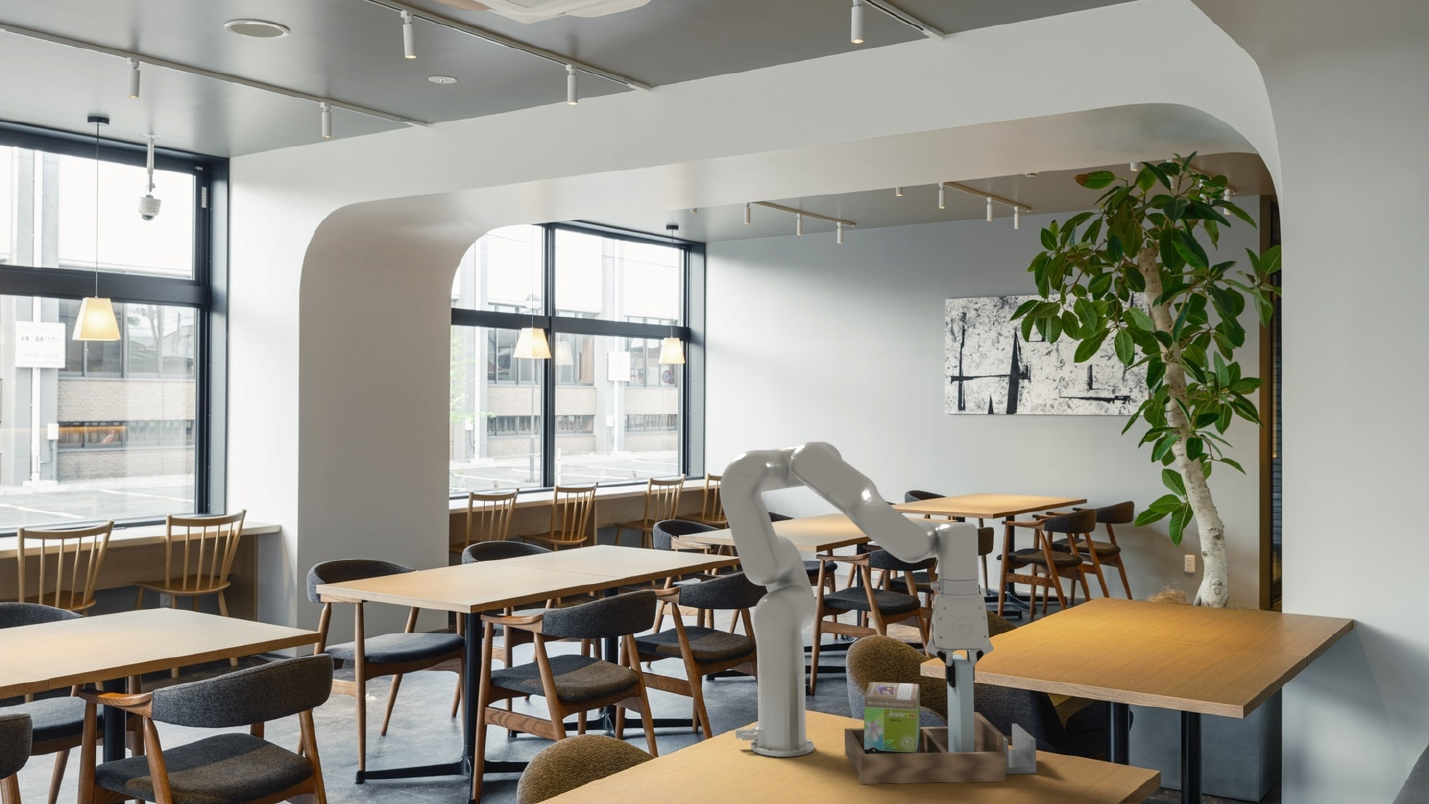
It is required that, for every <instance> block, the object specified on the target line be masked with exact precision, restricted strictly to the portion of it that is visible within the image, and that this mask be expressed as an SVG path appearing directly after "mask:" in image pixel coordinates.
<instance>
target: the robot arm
mask: <svg viewBox="0 0 1429 804" xmlns="http://www.w3.org/2000/svg"><path fill="white" fill-rule="evenodd" d="M798 487H807V488H809V489H810V490H811V491H812V492H814V493H815V494H817V495H818V496H820V497H821V498H822V499H823V500H825V501H826V502H827V503H829V504H830V505H832V506H833V507H834V508H836V509H837V510H838V511H840V512H841V513H842V514H843V515H845V516H846V517H847V518H848V519H849V520H850V522H852V524H854V525H855V526H856V527H857V528H858V529H859V531H861V532H862V533H863V534H864V535H865V536H866V537H868V538H869V539H870V540H871V541H873V542H874V543H875V544H876V545H878V546H879V547H881V548H882V549H883V550H885V552H888V553H889V554H890V555H892V556H893V557H895V558H897V559H898V560H900V561H902V562H905V563H909V564H914V563H915V564H916V563H919V562H921V561H923V560H927V559H931V558H937V578H936V579H937V580H936V581H933V582H930V589H931V590H934V591H937V592H938V594H935V595H934V600H933V607H932V616H931V629H930V630H931V632H930V634H931V636H930V638H929V640H928V641H927V642H928V643H927V644H926V646H925V651H926V652H927V653H929V654H931V655H933V656H936V657H937V658H938V659H939V660H941V661H942V662H943V664H944V665H945V669H944V670H945V675H944V677H945V682H946V683H947V682H948V684H949V686H951V687H952V688H955V666H954V664H953V655H954V651H965V652H966V660H968V661H969V662H970V663H972V664H973V683H974V682H975V681H976V676H975V675H976V672H975V671H976V669H975V666H976V665H977V664H978V662H979V661H980V660H981V659H982V658H983V657H984V656H985V655H987V654H989V653H991V652H993V651H994V650H995V649H994V647H993V644H992V642H991V640H990V635H989V634H990V633H989V623H988V613H987V607H986V601H985V597H984V595H982V594H980V590H979V589H980V583H979V582H980V579H979V577H980V576H979V533H978V532H979V530H978V528H977V526H976V525H975V524H974V523H972V522H962V521H960V522H959V521H951V522H948V521H947V522H938V521H937V522H936V521H932V520H931V521H930V520H924V519H917V520H913V521H912V520H911V519H909V518H908V517H907V516H905V515H904V514H902V513H901V512H900V511H898V510H897V509H896V508H895V507H893V506H892V505H891V504H890V503H888V502H887V501H886V500H885V499H884V498H883V497H882V495H881V494H880V492H879V491H878V488H877V486H876V484H875V483H874V482H873V481H872V479H871V478H869V477H868V476H866V475H865V474H863V473H862V472H861V471H859V470H858V469H856V468H855V467H854V466H852V465H851V464H849V463H848V462H847V461H846V460H844V459H843V458H842V454H841V453H840V451H839V450H838V449H837V448H836V446H835V445H833V444H832V443H828V442H825V441H808V442H804V443H802V444H800V445H798V446H797V445H796V446H791V447H784V448H776V449H775V448H774V449H764V450H763V449H752V450H748V451H746V452H743V453H741V454H739V455H738V456H736V457H735V458H733V459H732V460H731V461H730V462H729V463H728V465H727V466H726V468H725V469H724V471H723V473H722V476H721V479H720V483H719V499H720V502H721V506H722V509H723V513H724V515H725V517H726V521H727V524H728V526H729V529H730V533H731V537H732V539H733V543H734V546H735V549H736V550H735V551H736V552H737V556H738V559H739V562H740V565H741V567H742V568H741V569H742V571H743V573H744V576H745V577H746V579H747V580H748V581H749V582H751V583H752V584H754V585H756V586H763V587H764V586H765V589H766V590H767V593H766V594H764V595H763V596H762V597H761V598H760V599H759V600H758V602H757V604H756V605H755V608H754V612H753V629H754V634H755V635H754V636H755V643H756V659H757V664H756V665H757V667H756V668H757V669H756V671H757V705H758V706H757V709H758V710H757V722H756V723H755V726H752V727H750V728H747V729H746V728H735V730H734V731H735V739H736V740H737V739H738V740H740V739H741V740H742V741H751V742H750V749H751V751H752V752H754V753H756V754H759V755H763V756H768V757H778V758H779V757H785V758H787V757H798V756H802V755H803V756H804V755H807V754H810V753H811V752H813V751H814V749H815V743H814V742H813V741H812V739H809V738H807V733H806V731H807V728H806V727H807V726H806V725H807V721H806V718H807V717H806V713H807V712H806V711H807V710H806V660H805V657H806V656H805V646H804V640H803V635H802V631H803V630H805V629H807V628H809V626H811V624H812V623H813V622H814V620H815V618H816V616H817V610H818V608H817V607H818V606H817V599H816V597H815V594H814V590H813V587H812V584H811V581H810V579H809V576H808V573H807V570H806V567H805V564H804V561H803V559H802V556H801V553H800V551H799V550H798V548H797V547H796V545H795V544H794V542H792V540H790V539H788V538H787V537H785V536H782V535H778V534H776V531H775V529H774V525H773V523H772V519H771V516H770V514H769V512H768V509H767V507H766V506H765V503H764V502H763V500H762V493H763V492H769V491H770V492H771V491H777V490H778V491H779V490H784V489H791V488H798Z"/></svg>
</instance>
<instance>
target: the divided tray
mask: <svg viewBox="0 0 1429 804" xmlns="http://www.w3.org/2000/svg"><path fill="white" fill-rule="evenodd" d="M1003 736H1004V734H1003V733H1002V732H1001V731H1000V730H999V729H998V728H997V727H995V726H994V725H993V724H992V723H991V722H990V721H989V720H987V718H986V717H985V716H983V715H982V714H981V713H980V712H978V711H977V712H976V711H974V744H975V752H949V746H948V726H920V753H897V754H865V752H864V727H863V728H862V727H860V728H856V727H855V728H853V727H852V728H851V727H850V728H844V755H845V754H846V755H847V756H846V755H845V756H846V758H847V757H848V758H847V760H848V759H849V760H848V762H849V761H850V762H849V764H850V763H851V764H850V765H851V767H852V769H853V768H854V769H853V771H854V770H855V771H854V773H855V775H856V774H857V775H856V777H857V776H858V777H859V778H858V777H857V778H858V780H859V779H860V780H859V783H860V782H861V783H860V784H861V785H875V784H874V783H877V784H876V785H879V784H878V783H897V784H935V783H934V782H946V783H983V782H985V783H989V782H990V781H991V783H993V782H994V781H995V782H1007V774H1006V754H1005V752H1004V746H1003ZM992 781H993V782H992ZM929 782H930V783H929ZM932 782H933V783H932ZM864 783H865V784H864ZM867 783H869V784H867ZM871 783H873V784H871Z"/></svg>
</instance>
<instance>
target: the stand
mask: <svg viewBox="0 0 1429 804" xmlns="http://www.w3.org/2000/svg"><path fill="white" fill-rule="evenodd" d="M1011 738H1012V739H1011V743H1012V748H1011V749H1009V739H1008V738H1006V736H1005V735H1003V746H1004V752H1005V754H1006V775H1023V774H1024V775H1025V774H1026V775H1030V774H1032V775H1033V774H1034V775H1036V774H1037V742H1036V741H1037V740H1036V738H1034V736H1032V735H1031V734H1030V733H1029V732H1027V731H1026V730H1025V729H1024V728H1022V727H1021V726H1020V725H1019V724H1018V723H1011Z"/></svg>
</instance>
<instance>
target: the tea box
mask: <svg viewBox="0 0 1429 804" xmlns="http://www.w3.org/2000/svg"><path fill="white" fill-rule="evenodd" d="M920 694H921V693H920V684H919V683H905V682H904V683H903V682H901V683H900V682H884V681H883V682H878V681H877V682H876V681H874V682H873V681H870V682H869V683H868V687H867V689H866V692H865V696H864V704H863V705H864V709H863V711H864V712H863V717H864V719H863V721H864V726H863V728H864V752H865V754H897V753H920V727H921V725H920V723H921V717H920V716H921V704H920V703H921V701H920V699H921V698H920V696H921V695H920Z"/></svg>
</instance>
